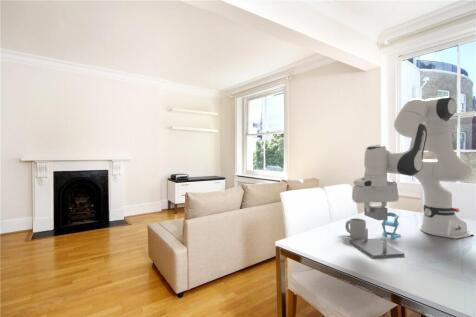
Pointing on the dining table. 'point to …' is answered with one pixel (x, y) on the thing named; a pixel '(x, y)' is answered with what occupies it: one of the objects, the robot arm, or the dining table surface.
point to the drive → (377, 212)
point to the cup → (356, 228)
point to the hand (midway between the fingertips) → (375, 211)
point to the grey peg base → (376, 247)
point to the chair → (393, 224)
